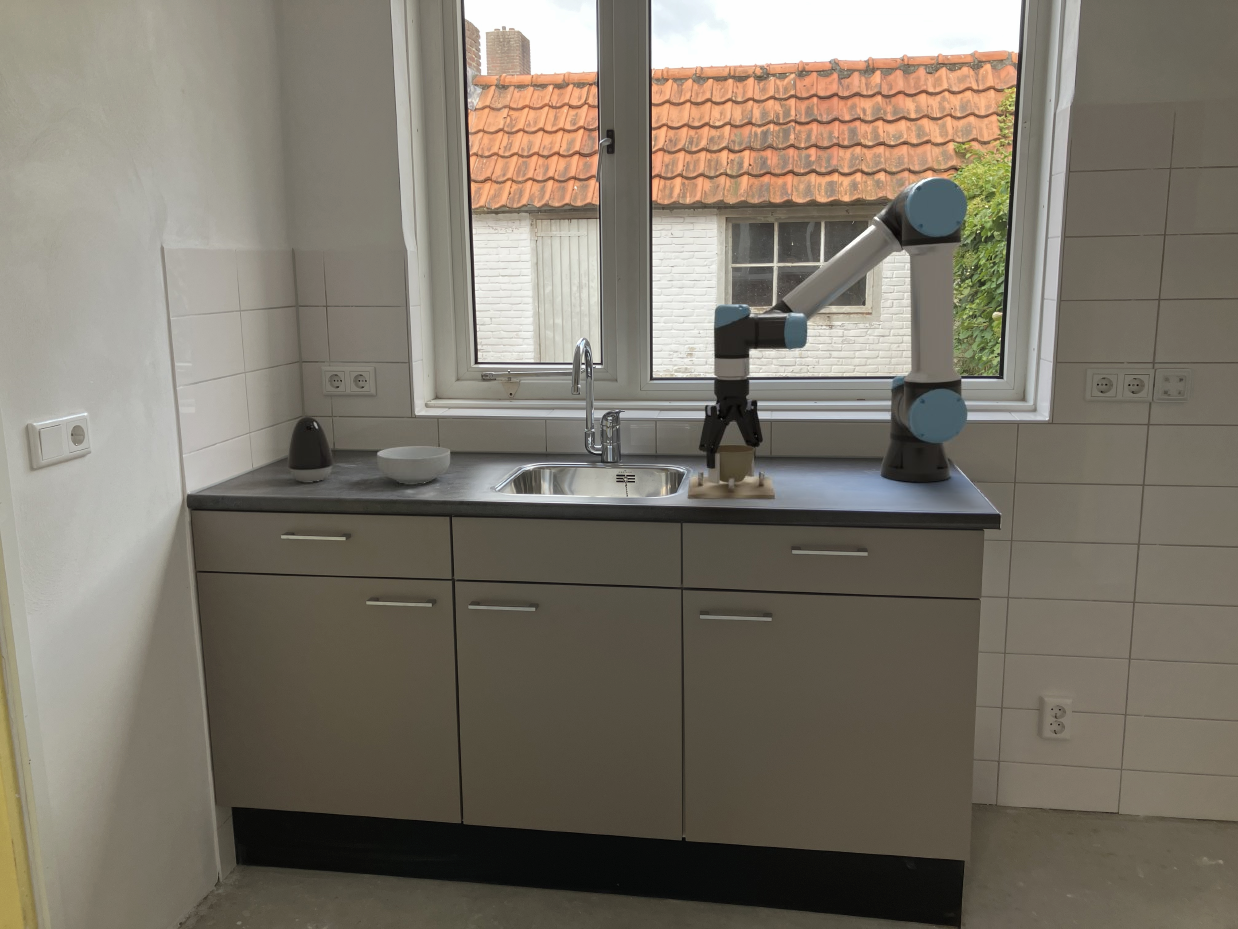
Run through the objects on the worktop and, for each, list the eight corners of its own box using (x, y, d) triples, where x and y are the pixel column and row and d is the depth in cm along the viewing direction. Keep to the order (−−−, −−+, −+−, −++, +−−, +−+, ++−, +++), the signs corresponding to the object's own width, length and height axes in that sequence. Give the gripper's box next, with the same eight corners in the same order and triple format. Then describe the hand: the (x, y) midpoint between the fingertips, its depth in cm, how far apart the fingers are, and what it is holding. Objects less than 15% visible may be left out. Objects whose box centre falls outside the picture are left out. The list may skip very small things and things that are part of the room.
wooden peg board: (770, 480, 227) (770, 464, 227) (774, 498, 210) (774, 480, 209) (691, 480, 229) (690, 463, 229) (688, 498, 212) (688, 480, 211)
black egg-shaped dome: (291, 486, 230) (285, 421, 227) (287, 478, 239) (282, 415, 236) (336, 482, 233) (332, 417, 231) (331, 474, 243) (327, 412, 240)
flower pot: (716, 486, 213) (716, 453, 212) (703, 477, 223) (703, 445, 222) (761, 483, 215) (761, 450, 214) (746, 474, 225) (746, 443, 224)
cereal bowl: (435, 490, 224) (433, 458, 223) (366, 488, 227) (364, 457, 226) (462, 474, 240) (460, 445, 239) (397, 472, 244) (395, 444, 242)
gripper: (755, 372, 225) (754, 469, 229) (681, 380, 211) (681, 484, 215) (780, 374, 219) (779, 474, 223) (706, 383, 205) (706, 489, 209)
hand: (731, 479), depth 219 cm, fingers closed on flower pot, 10 cm apart
